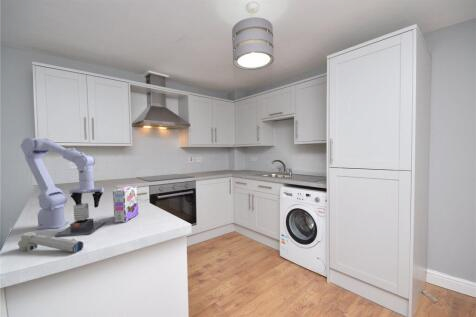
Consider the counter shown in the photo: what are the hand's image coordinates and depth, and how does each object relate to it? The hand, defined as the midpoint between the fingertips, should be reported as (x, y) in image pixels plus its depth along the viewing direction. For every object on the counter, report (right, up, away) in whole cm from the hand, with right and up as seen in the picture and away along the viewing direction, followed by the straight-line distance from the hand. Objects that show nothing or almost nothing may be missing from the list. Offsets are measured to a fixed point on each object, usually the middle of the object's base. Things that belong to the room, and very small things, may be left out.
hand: (88, 207), depth 105 cm
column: (+1, -4, -5) cm, 7 cm away
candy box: (+14, -8, +10) cm, 19 cm away
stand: (+1, -9, -5) cm, 11 cm away
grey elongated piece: (+4, -10, -25) cm, 27 cm away
